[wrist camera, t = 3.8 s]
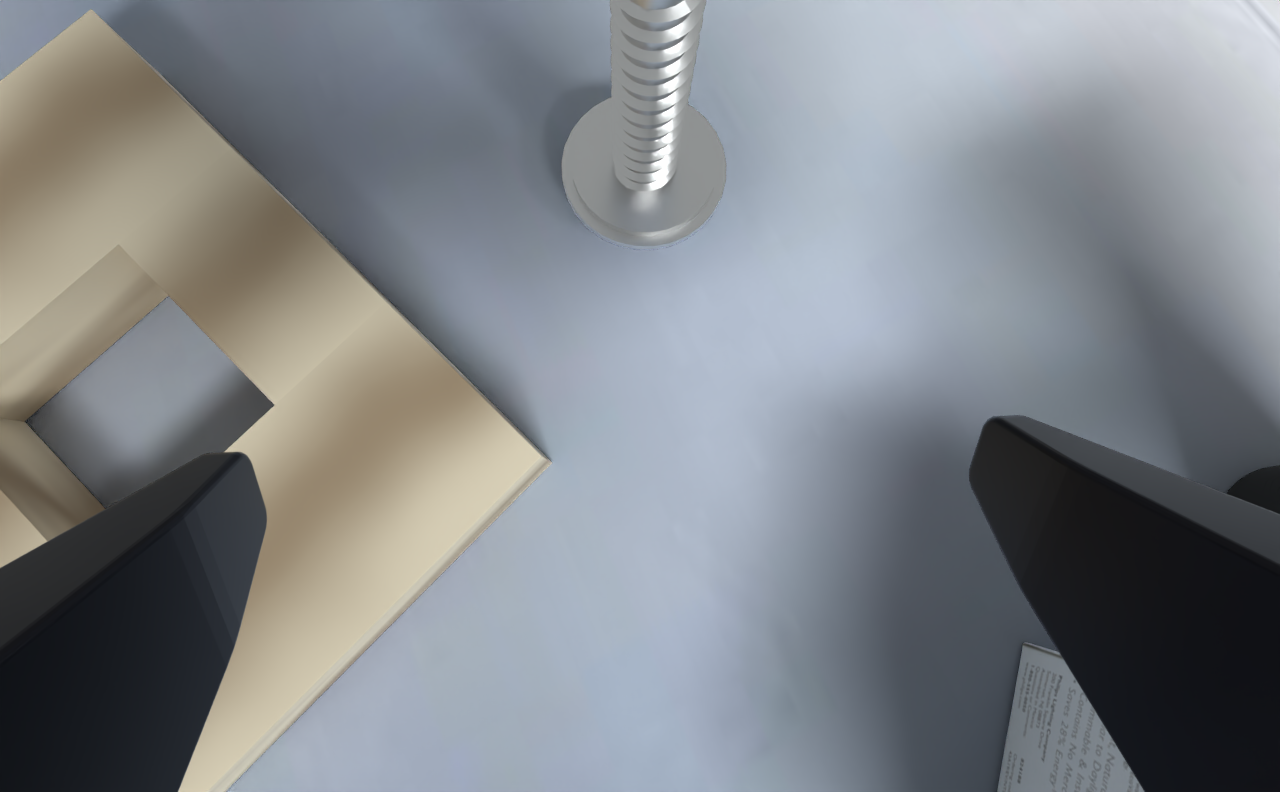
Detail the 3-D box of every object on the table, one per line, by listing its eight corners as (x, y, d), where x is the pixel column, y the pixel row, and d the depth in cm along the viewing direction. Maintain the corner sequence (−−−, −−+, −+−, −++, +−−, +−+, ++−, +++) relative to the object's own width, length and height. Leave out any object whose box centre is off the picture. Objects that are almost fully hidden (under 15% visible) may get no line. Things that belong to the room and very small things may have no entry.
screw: (746, 212, 23) (627, 299, 22) (655, 101, 23) (536, 183, 22) (916, -170, 10) (642, 15, 9) (702, -403, 10) (428, -242, 10)
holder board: (552, 462, 21) (541, 456, 18) (191, 825, 19) (115, 883, 16) (160, 73, 23) (91, 9, 20) (-210, 376, 21) (-347, 356, 18)
